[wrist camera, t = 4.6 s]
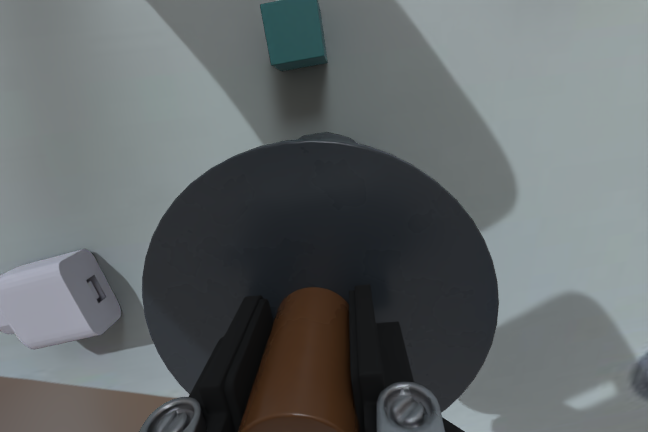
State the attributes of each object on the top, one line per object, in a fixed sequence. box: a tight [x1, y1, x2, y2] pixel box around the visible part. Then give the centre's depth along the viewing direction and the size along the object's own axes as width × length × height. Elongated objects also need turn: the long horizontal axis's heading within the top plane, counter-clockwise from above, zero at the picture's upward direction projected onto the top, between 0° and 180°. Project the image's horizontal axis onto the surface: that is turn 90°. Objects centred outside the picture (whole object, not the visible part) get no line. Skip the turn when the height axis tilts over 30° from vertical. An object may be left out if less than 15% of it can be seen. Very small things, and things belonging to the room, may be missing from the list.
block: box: [260, 0, 327, 71], centre depth 28 cm, size 4×4×4 cm
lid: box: [142, 138, 499, 432], centre depth 10 cm, size 13×13×6 cm
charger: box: [0, 249, 121, 349], centre depth 38 cm, size 5×9×15 cm
